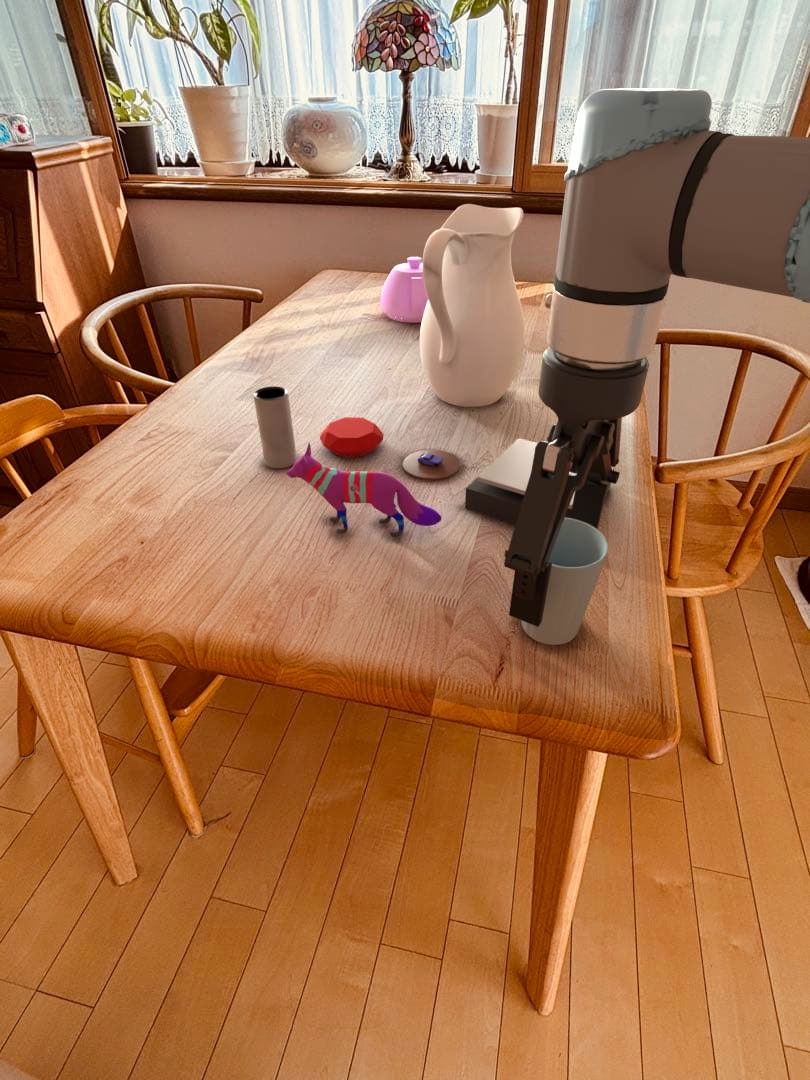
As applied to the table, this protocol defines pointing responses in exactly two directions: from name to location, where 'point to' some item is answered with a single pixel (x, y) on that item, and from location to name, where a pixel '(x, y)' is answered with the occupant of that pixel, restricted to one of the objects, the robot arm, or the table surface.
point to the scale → (506, 484)
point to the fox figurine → (362, 493)
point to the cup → (570, 582)
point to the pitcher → (472, 307)
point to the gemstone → (351, 437)
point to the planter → (275, 426)
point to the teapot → (405, 292)
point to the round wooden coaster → (431, 465)
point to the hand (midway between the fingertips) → (555, 575)
